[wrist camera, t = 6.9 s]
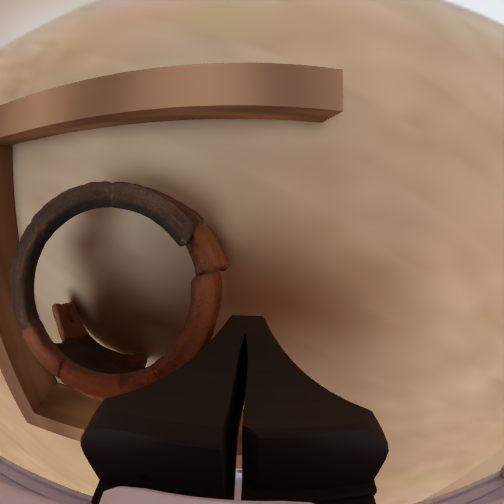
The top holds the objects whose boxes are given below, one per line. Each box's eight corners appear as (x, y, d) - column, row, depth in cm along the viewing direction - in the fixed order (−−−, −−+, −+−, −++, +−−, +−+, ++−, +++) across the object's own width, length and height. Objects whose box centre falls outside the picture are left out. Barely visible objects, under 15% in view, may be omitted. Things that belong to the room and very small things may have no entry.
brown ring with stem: (37, 268, 15) (-41, 241, 7) (169, 191, 18) (169, 113, 10) (141, 442, 15) (127, 523, 7) (272, 364, 18) (342, 400, 10)
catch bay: (322, 90, 12) (342, 69, 9) (293, 426, 18) (297, 468, 14) (-3, 124, 12) (-44, 124, 9) (48, 393, 18) (27, 422, 15)
